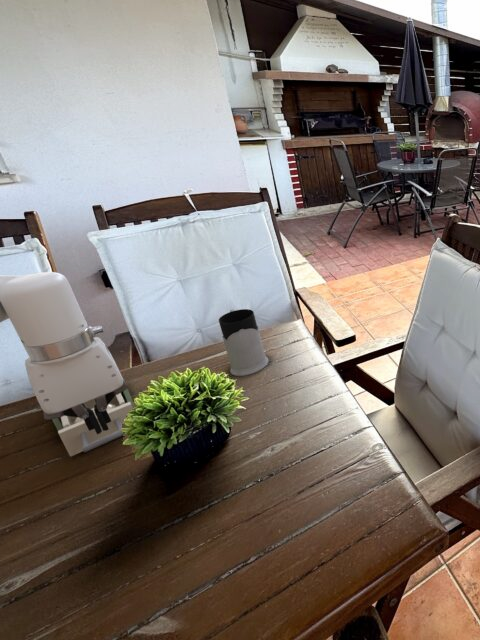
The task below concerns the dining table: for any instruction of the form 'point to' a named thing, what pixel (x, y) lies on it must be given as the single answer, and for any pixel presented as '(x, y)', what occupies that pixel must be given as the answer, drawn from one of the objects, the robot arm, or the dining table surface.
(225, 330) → the glass holder
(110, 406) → the capsule
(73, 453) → the drawer
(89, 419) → the robot arm
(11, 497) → the dining table surface
